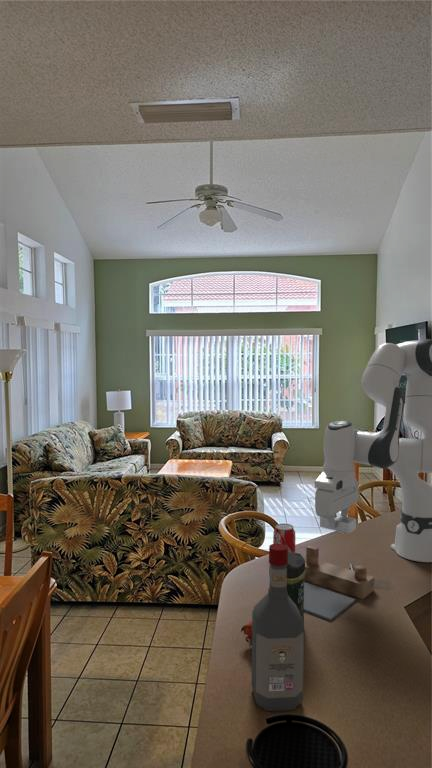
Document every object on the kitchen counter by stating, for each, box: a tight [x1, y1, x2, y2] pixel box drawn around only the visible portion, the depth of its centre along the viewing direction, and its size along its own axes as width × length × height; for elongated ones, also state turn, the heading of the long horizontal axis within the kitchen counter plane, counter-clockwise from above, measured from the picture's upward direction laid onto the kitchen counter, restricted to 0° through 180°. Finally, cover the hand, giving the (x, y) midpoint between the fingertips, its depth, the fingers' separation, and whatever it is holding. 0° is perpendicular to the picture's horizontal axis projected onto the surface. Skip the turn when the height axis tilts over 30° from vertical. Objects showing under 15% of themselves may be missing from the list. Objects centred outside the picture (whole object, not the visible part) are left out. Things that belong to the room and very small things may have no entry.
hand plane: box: [304, 545, 375, 600], centre depth 152 cm, size 20×7×9 cm, turn 49°
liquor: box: [251, 543, 305, 712], centre depth 102 cm, size 9×9×30 cm
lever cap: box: [319, 513, 357, 534], centre depth 152 cm, size 9×5×4 cm, turn 49°
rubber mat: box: [304, 581, 357, 622], centre depth 143 cm, size 14×18×1 cm
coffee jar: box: [268, 551, 306, 623], centre depth 127 cm, size 10×8×19 cm
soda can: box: [272, 523, 296, 553], centre depth 168 cm, size 7×7×12 cm
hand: (337, 524), depth 152 cm, fingers closed on lever cap, 5 cm apart
